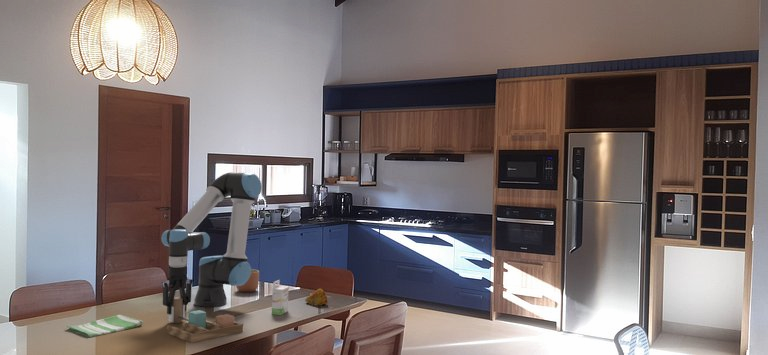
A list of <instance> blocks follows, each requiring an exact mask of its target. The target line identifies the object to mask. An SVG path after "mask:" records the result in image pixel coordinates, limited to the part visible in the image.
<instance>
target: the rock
mask: <svg viewBox="0 0 768 355" xmlns="http://www.w3.org/2000/svg"><path fill="white" fill-rule="evenodd" d="M304 301H305V302H306V303H308V304H309V305H311V306H313V305H314V306H315V307H318V306H320V307H321V306H323V305H327V304H328V296H327V295H326V292H325V291H324V290H323V289H322V288H318V289H316V290H315V291H313V292H312V293H311V294H310V295H309V296H307V297H306V298H305V300H304Z"/></svg>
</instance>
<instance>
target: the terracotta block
mask: <svg viewBox="0 0 768 355" xmlns="http://www.w3.org/2000/svg"><path fill="white" fill-rule="evenodd" d="M216 316H217V324H218V325H221V326H224V327H228V326H233V325H234V322H235V316H234V315H233V314H232V315H231V314H229V313H225V314H219V315H216Z"/></svg>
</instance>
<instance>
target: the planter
mask: <svg viewBox="0 0 768 355" xmlns="http://www.w3.org/2000/svg"><path fill="white" fill-rule="evenodd" d="M259 281H260V270H258V269H252V268H251V275H250V277H249V279H248V281H247V282H246V283H245V284H243V285H241V286H235V288H236V289H237V291H239V292H241V293H253V292H255V291H256V290H258V288H259V285H260V284H259V283H260V282H259Z"/></svg>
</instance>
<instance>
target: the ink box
mask: <svg viewBox="0 0 768 355" xmlns="http://www.w3.org/2000/svg"><path fill="white" fill-rule="evenodd" d="M280 281H281V280H280V279H278V280H275V281H273V283H272V291H271V292H272V296H271V297H272V298H271V315H276V316H282V315H284V314H286V313H287V312H288V311H289V310H288V309H289V289H290V286H287V285H286V286H285V285H280Z"/></svg>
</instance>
